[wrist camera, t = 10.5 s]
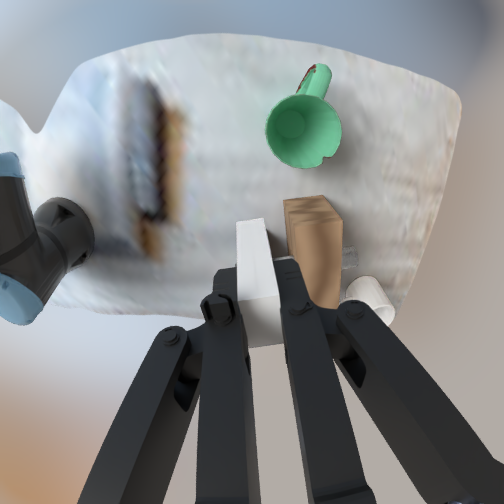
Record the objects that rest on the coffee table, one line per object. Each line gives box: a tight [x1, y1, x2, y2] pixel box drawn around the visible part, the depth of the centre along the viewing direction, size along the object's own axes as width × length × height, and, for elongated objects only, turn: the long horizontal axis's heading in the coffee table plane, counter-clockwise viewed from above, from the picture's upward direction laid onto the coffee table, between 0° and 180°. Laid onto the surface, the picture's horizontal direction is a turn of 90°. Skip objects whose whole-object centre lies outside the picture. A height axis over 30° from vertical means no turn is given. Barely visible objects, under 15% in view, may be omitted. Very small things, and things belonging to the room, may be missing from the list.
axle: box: [235, 246, 358, 269], centre depth 46 cm, size 20×4×4 cm, turn 98°
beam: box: [283, 195, 343, 309], centre depth 47 cm, size 7×18×10 cm, turn 8°
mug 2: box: [341, 276, 395, 326], centre depth 54 cm, size 8×12×10 cm
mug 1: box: [265, 64, 342, 169], centre depth 35 cm, size 15×10×10 cm
